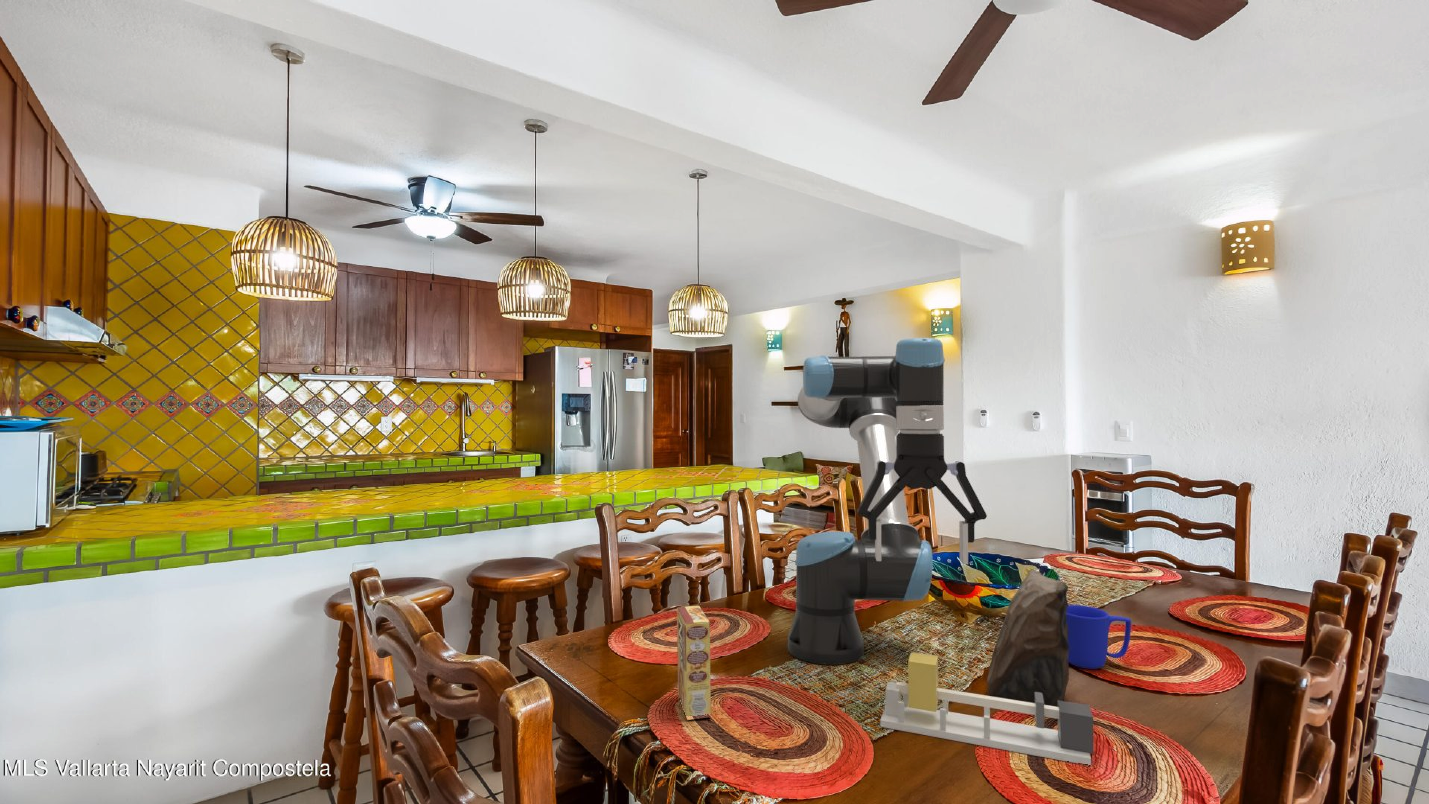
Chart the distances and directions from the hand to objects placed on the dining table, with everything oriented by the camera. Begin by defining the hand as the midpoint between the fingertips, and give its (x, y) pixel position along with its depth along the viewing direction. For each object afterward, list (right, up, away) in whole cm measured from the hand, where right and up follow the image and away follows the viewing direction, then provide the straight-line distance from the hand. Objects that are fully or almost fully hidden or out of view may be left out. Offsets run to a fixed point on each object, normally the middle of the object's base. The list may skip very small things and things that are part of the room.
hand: (920, 561), depth 106 cm
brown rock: (+19, -24, +4) cm, 31 cm away
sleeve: (-2, -20, -7) cm, 22 cm away
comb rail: (+6, -23, -10) cm, 26 cm away
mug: (+38, -24, +16) cm, 48 cm away
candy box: (-38, -24, -2) cm, 44 cm away
